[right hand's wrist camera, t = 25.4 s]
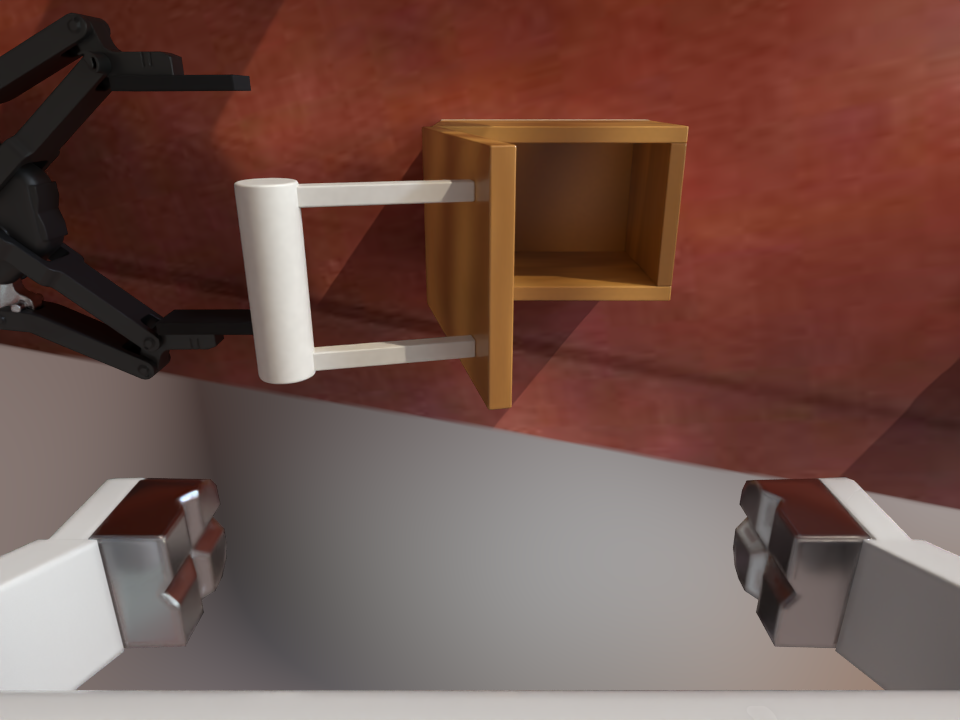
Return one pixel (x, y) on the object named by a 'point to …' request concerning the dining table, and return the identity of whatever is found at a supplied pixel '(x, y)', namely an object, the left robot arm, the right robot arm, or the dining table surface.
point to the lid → (449, 264)
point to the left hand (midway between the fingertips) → (258, 209)
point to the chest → (592, 206)
